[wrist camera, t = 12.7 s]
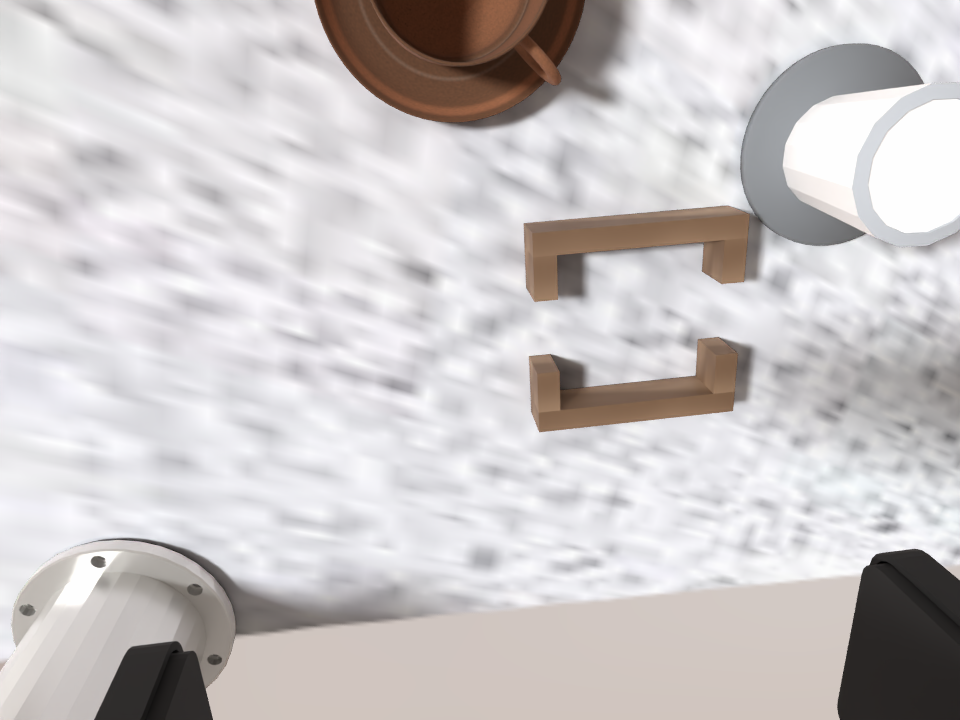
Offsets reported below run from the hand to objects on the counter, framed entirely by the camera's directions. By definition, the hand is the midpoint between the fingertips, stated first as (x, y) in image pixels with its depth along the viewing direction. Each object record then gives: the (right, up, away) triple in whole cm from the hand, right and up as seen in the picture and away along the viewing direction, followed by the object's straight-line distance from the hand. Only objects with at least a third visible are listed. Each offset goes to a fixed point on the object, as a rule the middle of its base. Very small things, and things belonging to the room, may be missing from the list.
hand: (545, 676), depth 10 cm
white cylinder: (+17, +15, +26) cm, 35 cm away
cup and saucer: (-2, +22, +22) cm, 31 cm away
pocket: (+7, +7, +29) cm, 30 cm away
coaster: (+18, +16, +27) cm, 35 cm away
